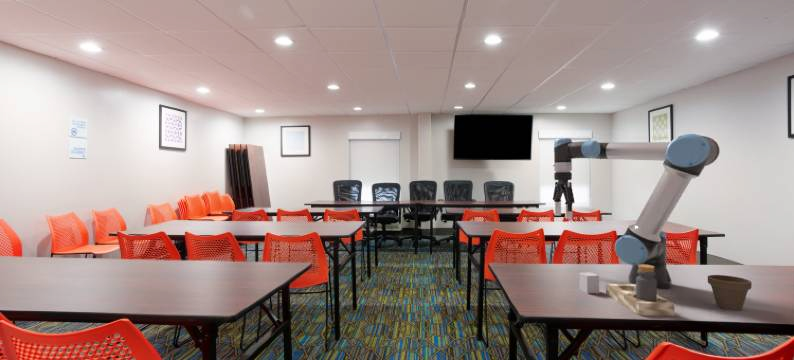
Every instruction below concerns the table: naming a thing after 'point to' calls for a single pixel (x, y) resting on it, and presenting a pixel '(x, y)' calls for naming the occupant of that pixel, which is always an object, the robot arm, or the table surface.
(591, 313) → the table surface
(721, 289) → the flower pot
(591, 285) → the square bit
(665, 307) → the bore block
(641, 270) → the bottle
